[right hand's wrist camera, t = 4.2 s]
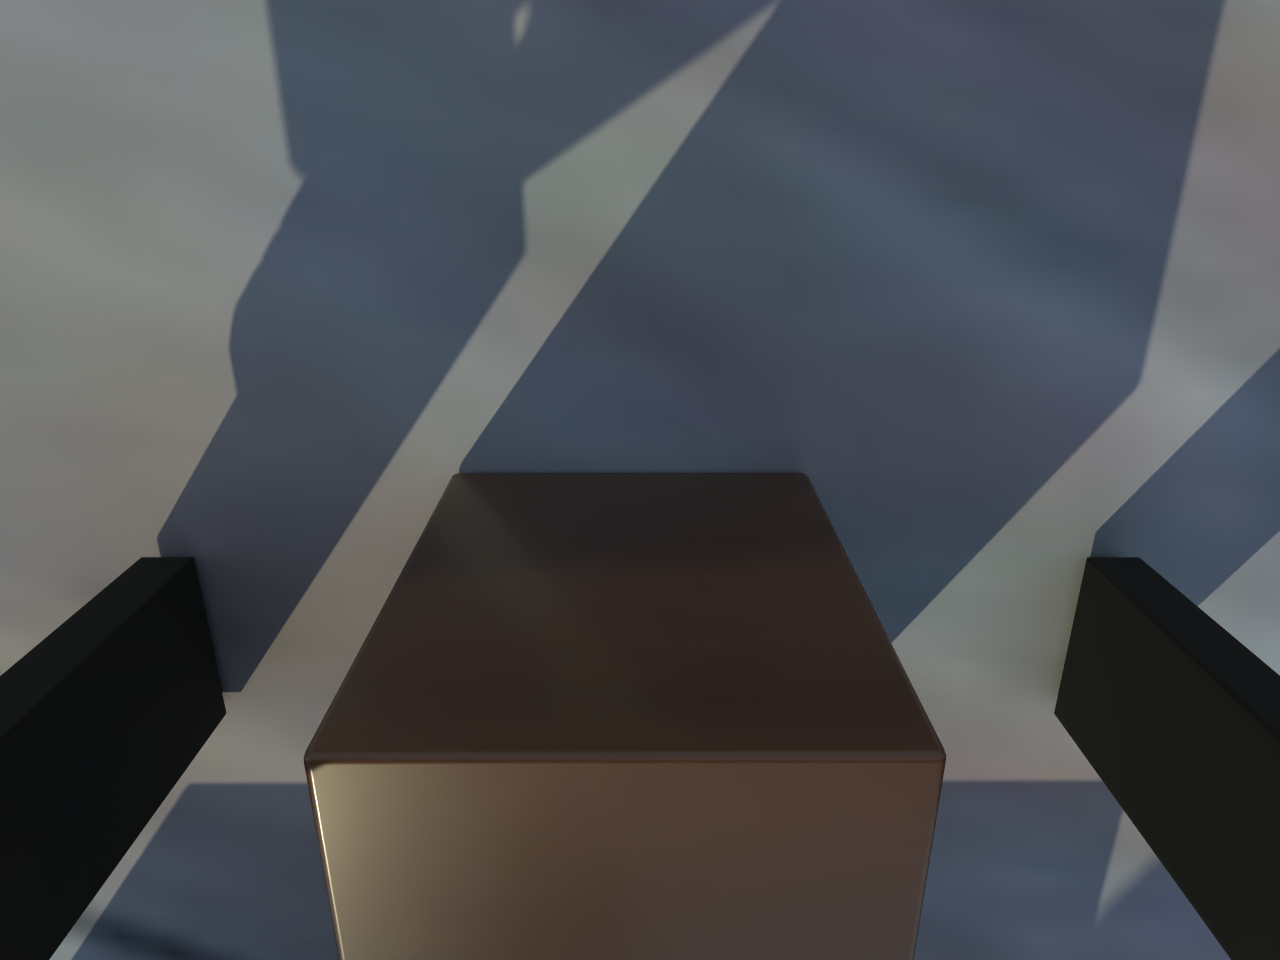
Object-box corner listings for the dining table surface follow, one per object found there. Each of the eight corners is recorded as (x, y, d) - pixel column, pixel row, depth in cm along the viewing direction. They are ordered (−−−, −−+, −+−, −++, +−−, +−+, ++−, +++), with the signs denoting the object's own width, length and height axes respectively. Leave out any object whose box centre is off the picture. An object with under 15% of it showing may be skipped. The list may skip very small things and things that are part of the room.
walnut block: (452, 471, 12) (298, 755, 7) (807, 470, 12) (952, 754, 7) (477, 758, 14) (373, 1170, 8) (785, 757, 14) (884, 1168, 8)
